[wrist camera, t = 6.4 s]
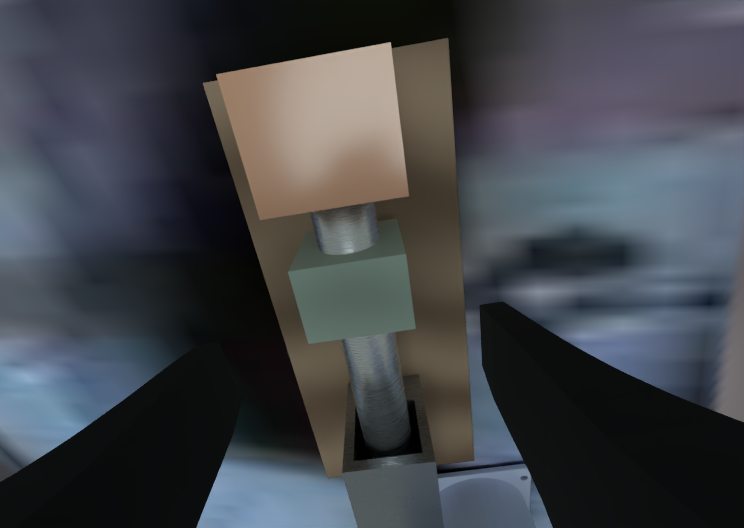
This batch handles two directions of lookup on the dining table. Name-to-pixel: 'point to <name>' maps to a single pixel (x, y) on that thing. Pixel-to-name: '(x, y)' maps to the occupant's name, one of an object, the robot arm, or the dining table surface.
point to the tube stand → (392, 200)
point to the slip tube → (360, 312)
